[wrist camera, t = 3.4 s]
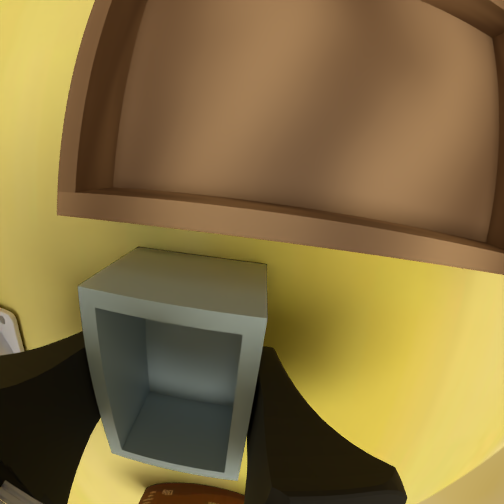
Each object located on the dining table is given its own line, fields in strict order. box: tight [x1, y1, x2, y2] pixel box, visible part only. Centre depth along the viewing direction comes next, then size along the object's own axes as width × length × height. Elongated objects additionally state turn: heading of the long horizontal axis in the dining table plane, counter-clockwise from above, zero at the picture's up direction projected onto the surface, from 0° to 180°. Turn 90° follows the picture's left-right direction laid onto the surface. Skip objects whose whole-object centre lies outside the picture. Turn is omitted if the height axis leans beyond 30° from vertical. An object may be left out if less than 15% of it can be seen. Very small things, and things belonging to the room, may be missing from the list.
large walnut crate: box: [57, 0, 504, 275], centre depth 7 cm, size 16×11×3 cm
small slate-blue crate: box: [78, 247, 268, 481], centre depth 10 cm, size 7×5×4 cm
